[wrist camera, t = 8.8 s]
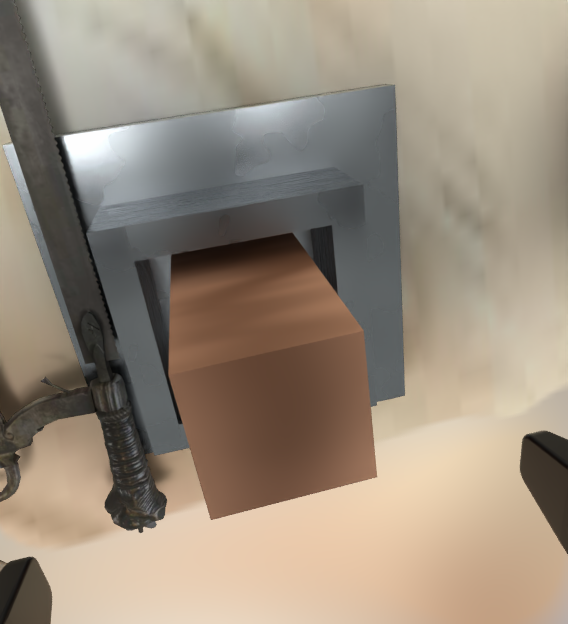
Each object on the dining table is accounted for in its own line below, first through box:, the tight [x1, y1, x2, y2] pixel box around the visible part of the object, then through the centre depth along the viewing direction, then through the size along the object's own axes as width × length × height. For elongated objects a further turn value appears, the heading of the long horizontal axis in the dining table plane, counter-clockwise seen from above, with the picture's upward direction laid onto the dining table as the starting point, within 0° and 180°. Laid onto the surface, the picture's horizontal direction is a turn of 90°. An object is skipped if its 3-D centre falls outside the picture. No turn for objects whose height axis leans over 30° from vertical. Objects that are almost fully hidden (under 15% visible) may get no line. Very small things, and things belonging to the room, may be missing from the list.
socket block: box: [2, 84, 405, 455], centre depth 17 cm, size 12×12×4 cm
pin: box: [168, 233, 377, 520], centre depth 15 cm, size 4×4×8 cm
